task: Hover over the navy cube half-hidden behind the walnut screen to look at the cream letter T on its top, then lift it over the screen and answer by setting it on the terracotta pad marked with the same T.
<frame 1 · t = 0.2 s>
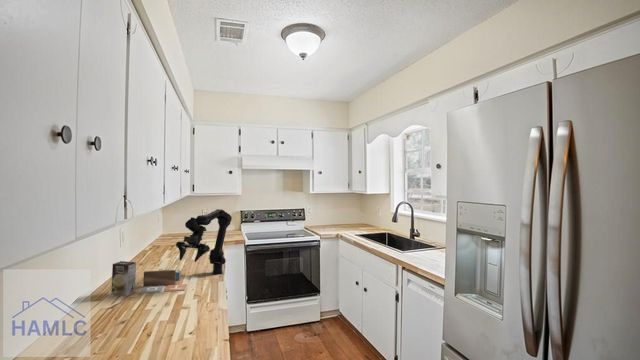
hand: (187, 261, 171), 15 cm above the counter, tool tilted 30°, fingers open, 9 cm apart
letter cube: (175, 279, 185), on the counter
grey pad: (152, 289, 166), on the counter
walnut screen: (159, 285, 174), on the counter
terracotta pad: (176, 288, 169), on the counter
coffee box: (123, 294, 159), on the counter
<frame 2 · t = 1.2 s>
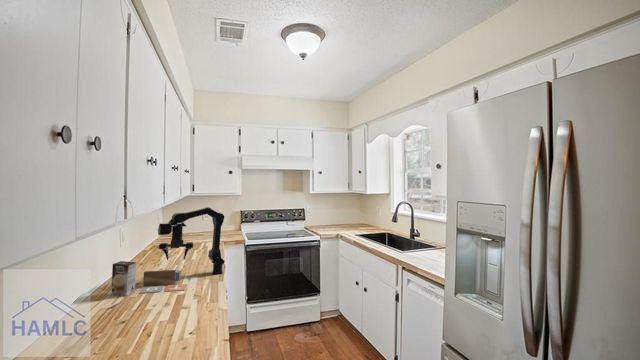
hand: (176, 259, 185), 12 cm above the counter, tool pointing down, fingers open, 9 cm apart
nothing on the counter moved.
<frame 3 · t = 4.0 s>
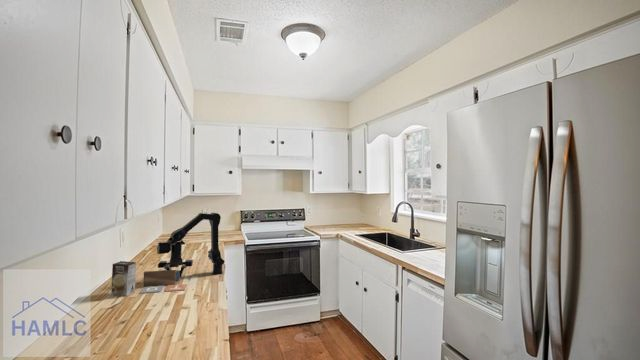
hand: (175, 278, 185), 1 cm above the counter, tool pointing down, fingers closed on letter cube, 5 cm apart
letter cube: (175, 279, 185), on the counter, touching gripper
everything else where it was.
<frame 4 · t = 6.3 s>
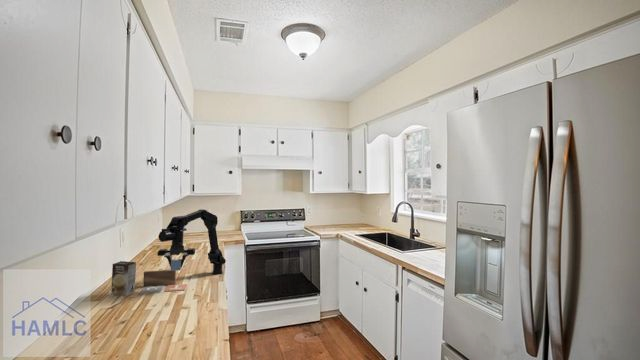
hand: (176, 267, 170), 11 cm above the counter, tool pointing down, fingers closed on letter cube, 5 cm apart
letter cube: (176, 269, 170), point 10 cm above the counter, touching gripper
everything else where it was.
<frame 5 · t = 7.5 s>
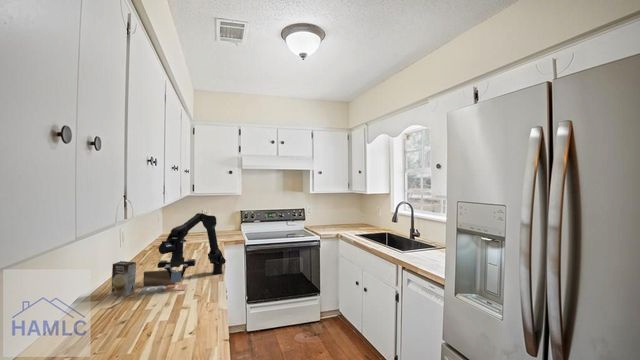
hand: (176, 278, 169), 5 cm above the counter, tool pointing down, fingers closed on letter cube, 5 cm apart
letter cube: (176, 280, 169), point 4 cm above the counter, touching gripper
everything else where it was.
when the fingers open (3 cm above the counter, at t = 8.7 s): letter cube drops 1 cm, resting on terracotta pad.
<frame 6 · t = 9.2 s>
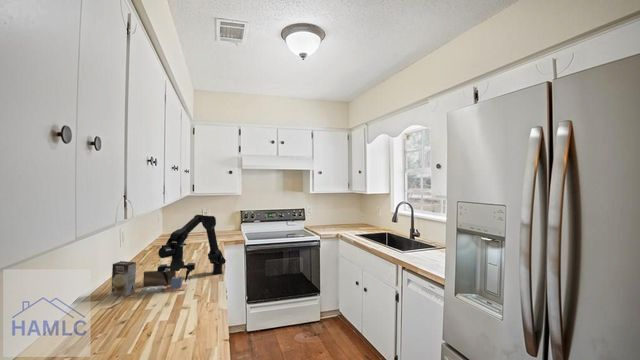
hand: (176, 282, 169), 3 cm above the counter, tool pointing down, fingers open, 9 cm apart
letter cube: (176, 287, 169), point 1 cm above the counter, touching terracotta pad
everything else where it was.
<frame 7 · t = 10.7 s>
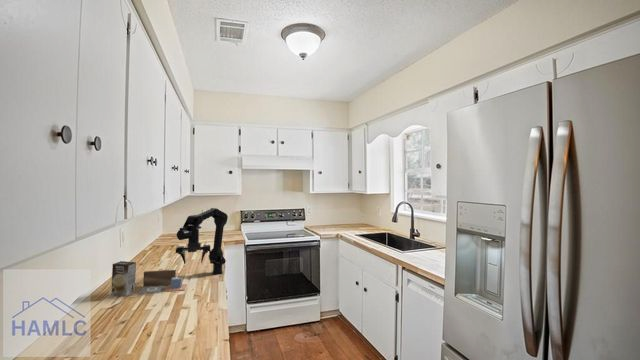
hand: (193, 263, 180), 11 cm above the counter, tool pointing down, fingers open, 9 cm apart
nothing on the counter moved.
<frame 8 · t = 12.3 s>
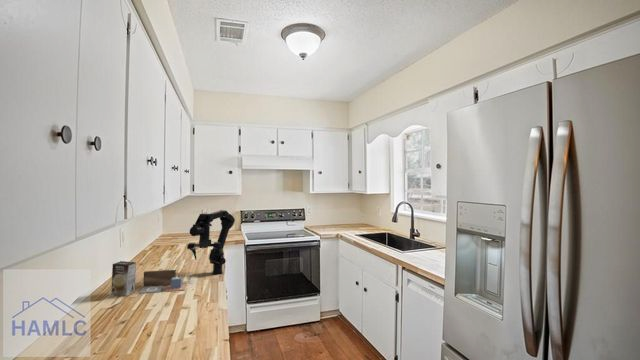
hand: (203, 259, 188), 12 cm above the counter, tool pointing down, fingers open, 9 cm apart
nothing on the counter moved.
at the end: letter cube inside the target area on the terracotta pad (0.0 cm from its centre), point 0.6 cm above the terracotta pad's base; letter cube tilted 0°; the gripper is holding nothing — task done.
